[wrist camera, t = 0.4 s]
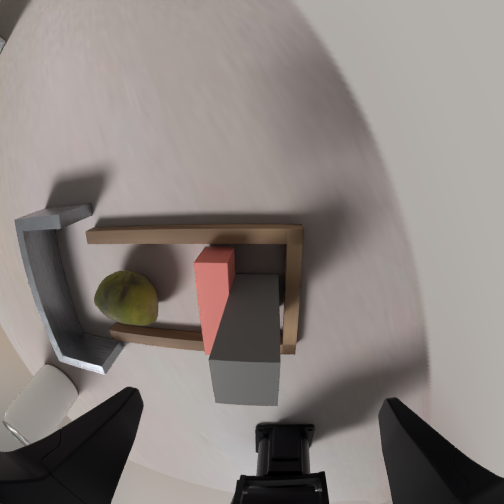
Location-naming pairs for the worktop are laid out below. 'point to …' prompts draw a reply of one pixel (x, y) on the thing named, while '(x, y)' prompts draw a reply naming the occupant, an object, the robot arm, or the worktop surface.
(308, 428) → the robot arm
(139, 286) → the lime
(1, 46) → the tea box
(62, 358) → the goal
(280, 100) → the worktop surface
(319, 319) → the worktop surface
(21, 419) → the can
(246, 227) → the brown wooden flat frame
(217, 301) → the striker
